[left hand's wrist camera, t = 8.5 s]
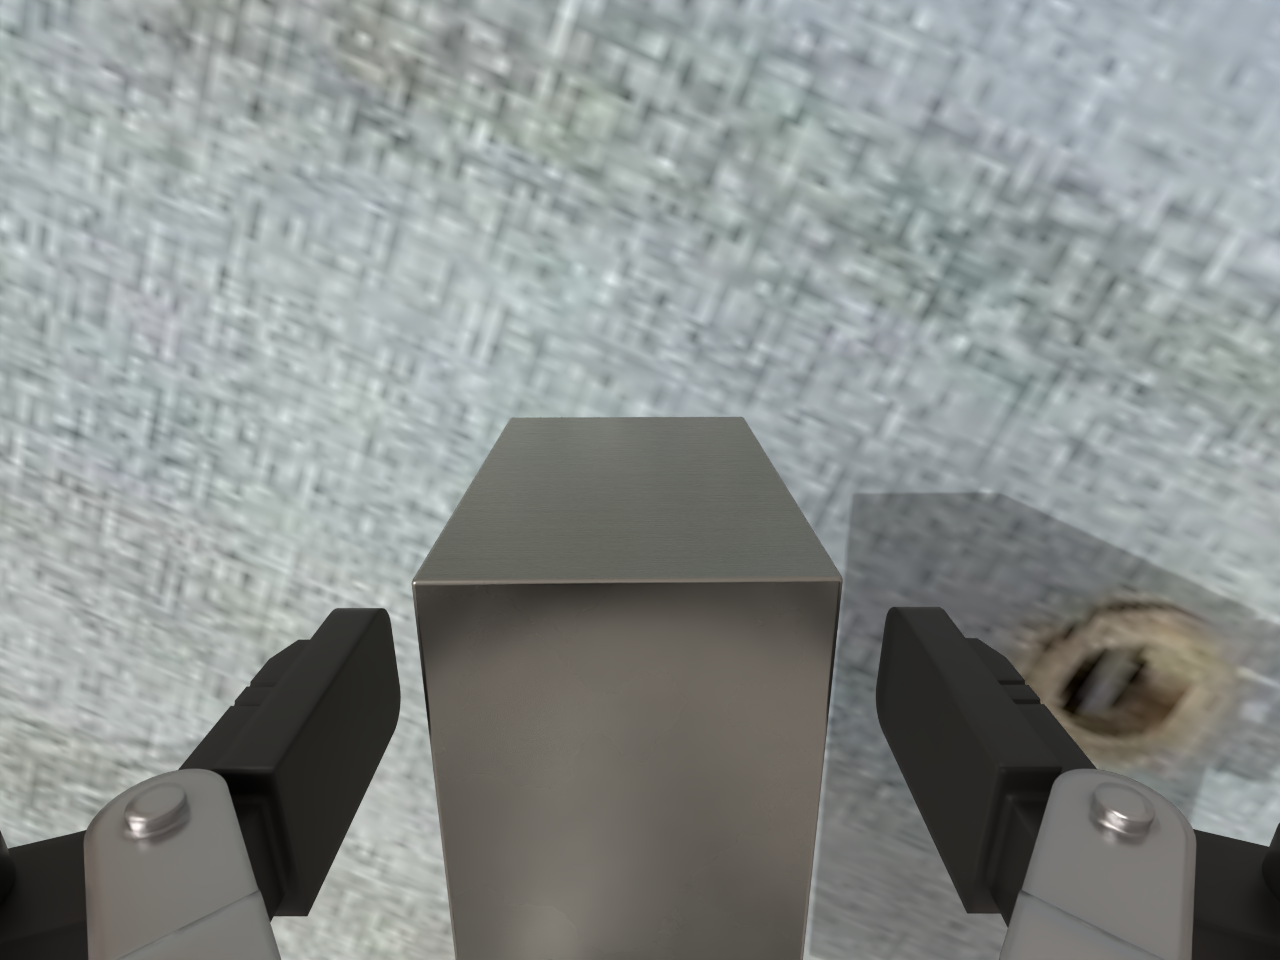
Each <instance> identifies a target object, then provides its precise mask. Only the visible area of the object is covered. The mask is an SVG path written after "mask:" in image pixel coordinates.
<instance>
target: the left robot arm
mask: <svg viewBox="0 0 1280 960" xmlns="http://www.w3.org/2000/svg"><path fill="white" fill-rule="evenodd" d="M400 698H401V696H400V684H399V677H398V670H397V663H396V656H395V649H394V642H393V635H392V628H391V622H390V617H389V614H388V612H387V611H386V610H385V609H383V608H337V609H334V610H333V611H332V612H331V613H330V614H329V616H328V617H327V618H326V620H325V621H324V622H323V624H322V625H321V626H320V627H319V629H318V630H317V631H316V633H315V634H314V635H313V637H312V638H311V639H310V640H297V641H296V642H294V643H293V644H291V645H290V646H288V647H287V648H285V649H284V650H282V651H281V652H279V653H278V654H276V655H275V656H273V657H272V658H270V659H269V660H268V661H267V663H266V664H265V665H264V666H263V667H262V669H261V670H260V671H259V672H258V673H257V675H256V676H255V677H254V678H253V680H252V681H251V684H250V687H246V688H245V689H244V691H243V692H242V693H241V694H240V695H239V697H238V698H237V699H236V700H235V705H234V706H230V708H229V709H228V710H227V711H226V712H225V714H224V715H223V716H222V717H221V718H220V720H219V721H218V722H217V723H216V725H215V726H214V727H213V728H212V729H211V731H210V732H209V733H208V734H207V735H206V737H205V738H204V739H203V740H202V742H201V743H200V744H199V745H198V746H197V748H196V749H195V750H194V751H193V753H192V754H191V755H190V756H189V757H188V759H187V760H186V761H185V762H184V763H183V765H182V766H181V767H180V768H179V770H176V771H172V772H168V773H164V774H161V775H158V776H155V777H152V778H150V779H147V780H145V781H143V782H140V783H139V784H137V785H135V786H133V787H131V788H129V789H128V790H126V791H124V792H123V793H121V794H120V795H118V796H117V797H116V798H114V799H113V800H112V801H110V802H109V803H108V804H107V805H106V806H105V807H104V808H103V809H101V810H100V811H99V813H98V814H97V815H96V816H95V817H94V819H93V820H92V822H91V823H90V825H89V826H88V828H87V830H85V831H81V832H77V833H73V834H69V835H65V836H61V837H56V838H52V839H48V840H43V841H39V842H35V843H31V844H26V845H22V846H18V847H13V848H9V849H8V848H7V846H6V843H5V841H4V838H3V836H2V834H1V831H0V960H281V957H280V954H279V951H278V947H277V944H276V941H275V937H274V934H273V931H272V927H271V924H270V922H271V920H272V918H273V916H308V914H309V912H310V910H311V908H312V905H313V903H314V901H315V899H316V897H317V895H318V893H319V891H320V888H321V886H322V884H323V882H324V880H325V878H326V876H327V873H328V871H329V869H330V867H331V865H332V863H333V861H334V859H335V856H336V854H337V852H338V850H339V848H340V846H341V844H342V842H343V839H344V837H345V835H346V833H347V831H348V829H349V827H350V825H351V822H352V820H353V818H354V816H355V814H356V812H357V810H358V808H359V805H360V803H361V801H362V799H363V797H364V795H365V793H366V790H367V788H368V786H369V784H370V782H371V780H372V778H373V776H374V773H375V771H376V769H377V767H378V765H379V763H380V761H381V759H382V756H383V754H384V752H385V750H386V748H387V746H388V744H389V742H390V739H391V737H392V735H393V733H394V731H395V728H396V725H397V721H398V717H399V711H400ZM876 707H877V714H878V719H879V723H880V726H881V728H882V731H883V733H884V735H885V737H886V739H887V742H888V744H889V746H890V748H891V750H892V752H893V755H894V757H895V759H896V761H897V763H898V765H899V767H900V770H901V772H902V774H903V776H904V778H905V780H906V783H907V785H908V787H909V789H910V791H911V793H912V795H913V798H914V800H915V802H916V804H917V806H918V808H919V811H920V813H921V815H922V817H923V819H924V821H925V823H926V826H927V828H928V830H929V832H930V834H931V836H932V839H933V841H934V843H935V845H936V847H937V849H938V851H939V854H940V856H941V858H942V860H943V862H944V864H945V867H946V869H947V871H948V873H949V875H950V877H951V879H952V882H953V884H954V886H955V888H956V890H957V892H958V895H959V897H960V899H961V901H962V903H963V905H964V908H965V910H966V912H967V913H1001V915H1002V917H1003V919H1004V921H1005V923H1006V925H1007V927H1008V931H1007V934H1006V937H1005V941H1004V944H1003V947H1002V951H1001V954H1000V957H999V960H1280V823H1279V824H1278V827H1277V829H1276V832H1275V834H1274V837H1273V839H1272V841H1271V844H1270V846H1269V847H1267V846H1263V845H1259V844H1254V843H1250V842H1246V841H1242V840H1237V839H1233V838H1229V837H1224V836H1220V835H1216V834H1212V833H1207V832H1203V831H1199V830H1195V829H1193V828H1192V826H1191V825H1190V823H1189V822H1188V820H1187V819H1186V817H1185V816H1184V815H1183V814H1182V813H1181V811H1180V810H1179V809H1177V808H1176V807H1175V806H1174V805H1173V804H1172V803H1171V802H1170V801H1168V800H1167V799H1166V798H1164V797H1163V796H1162V795H1160V794H1159V793H1157V792H1156V791H1154V790H1152V789H1151V788H1149V787H1147V786H1145V785H1143V784H1141V783H1140V782H1137V781H1135V780H1133V779H1130V778H1128V777H1125V776H1122V775H1119V774H1116V773H1112V772H1108V771H1104V770H1097V768H1096V767H1095V766H1094V765H1093V764H1092V762H1091V761H1090V760H1089V759H1088V757H1087V756H1086V755H1085V754H1084V753H1083V751H1082V750H1081V749H1080V748H1079V746H1078V745H1077V744H1076V743H1075V742H1074V740H1073V739H1072V738H1071V737H1070V735H1069V734H1068V733H1067V732H1066V730H1065V729H1064V728H1063V727H1062V726H1061V724H1060V723H1059V722H1058V721H1057V719H1056V718H1055V717H1054V716H1053V715H1052V713H1051V712H1050V711H1049V710H1048V708H1047V707H1046V706H1045V705H1044V704H1041V703H1040V699H1039V697H1038V696H1037V695H1036V694H1035V692H1034V691H1033V690H1032V689H1031V688H1030V686H1029V685H1025V680H1024V679H1023V678H1022V676H1021V675H1020V674H1019V673H1018V672H1017V670H1016V669H1015V668H1014V667H1013V665H1012V664H1011V663H1010V662H1009V661H1008V659H1007V658H1006V657H1004V656H1003V655H1001V654H1000V653H998V652H997V651H995V650H994V649H992V648H991V647H989V646H988V645H986V644H985V643H983V642H982V641H980V640H979V639H977V638H965V637H964V636H963V634H962V633H961V632H960V631H959V629H958V628H957V627H956V625H955V624H954V623H953V621H952V620H951V619H950V617H949V616H948V615H947V613H946V612H945V611H944V610H943V609H942V608H940V607H892V608H891V609H890V610H889V611H888V614H887V617H886V622H885V629H884V636H883V643H882V650H881V657H880V664H879V672H878V679H877V686H876Z"/></svg>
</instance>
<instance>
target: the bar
mask: <svg viewBox="0 0 1280 960" xmlns="http://www.w3.org/2000/svg"><path fill="white" fill-rule="evenodd" d="M842 582H843V579H842V577H841V575H840V573H839V572H838V570H837V568H836V567H835V565H834V563H833V562H832V560H831V559H830V557H829V555H828V554H827V552H826V550H825V549H824V547H823V546H822V544H821V542H820V541H819V539H818V538H817V536H816V534H815V533H814V531H813V529H812V528H811V526H810V525H809V523H808V521H807V520H806V518H805V516H804V515H803V513H802V512H801V510H800V508H799V507H798V505H797V504H796V502H795V500H794V499H793V497H792V495H791V494H790V492H789V491H788V489H787V487H786V486H785V484H784V482H783V481H782V479H781V478H780V476H779V474H778V473H777V471H776V470H775V468H774V466H773V465H772V463H771V461H770V460H769V458H768V457H767V455H766V453H765V452H764V450H763V448H762V447H761V445H760V444H759V442H758V440H757V439H756V437H755V435H754V434H753V432H752V431H751V429H750V427H749V426H748V424H747V423H746V421H745V419H744V418H743V417H593V418H511V419H510V420H509V422H508V423H507V425H506V427H505V428H504V430H503V432H502V433H501V435H500V437H499V438H498V440H497V442H496V443H495V445H494V447H493V448H492V450H491V451H490V453H489V455H488V456H487V458H486V460H485V461H484V463H483V465H482V466H481V468H480V470H479V471H478V473H477V475H476V476H475V478H474V480H473V481H472V483H471V485H470V486H469V488H468V489H467V491H466V493H465V494H464V496H463V498H462V499H461V501H460V503H459V504H458V506H457V508H456V509H455V511H454V513H453V514H452V516H451V518H450V519H449V521H448V522H447V524H446V526H445V527H444V529H443V531H442V532H441V534H440V536H439V537H438V539H437V541H436V542H435V544H434V546H433V547H432V549H431V551H430V552H429V554H428V555H427V557H426V559H425V560H424V562H423V564H422V565H421V567H420V569H419V570H418V572H417V574H416V575H415V577H414V579H413V581H412V591H413V599H414V608H415V616H416V625H417V633H418V642H419V651H420V659H421V668H422V676H423V685H424V693H425V702H426V711H427V719H428V728H429V736H430V745H431V753H432V762H433V771H434V779H435V788H436V796H437V805H438V813H439V822H440V831H441V839H442V848H443V856H444V865H445V873H446V882H447V891H448V899H449V908H450V916H451V925H452V933H453V942H454V951H455V959H456V960H803V953H804V944H805V934H806V925H807V915H808V906H809V896H810V887H811V877H812V868H813V858H814V848H815V839H816V829H817V820H818V810H819V801H820V791H821V782H822V772H823V763H824V753H825V744H826V734H827V725H828V715H829V706H830V696H831V687H832V677H833V668H834V658H835V648H836V639H837V629H838V620H839V610H840V601H841V591H842Z"/></svg>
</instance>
